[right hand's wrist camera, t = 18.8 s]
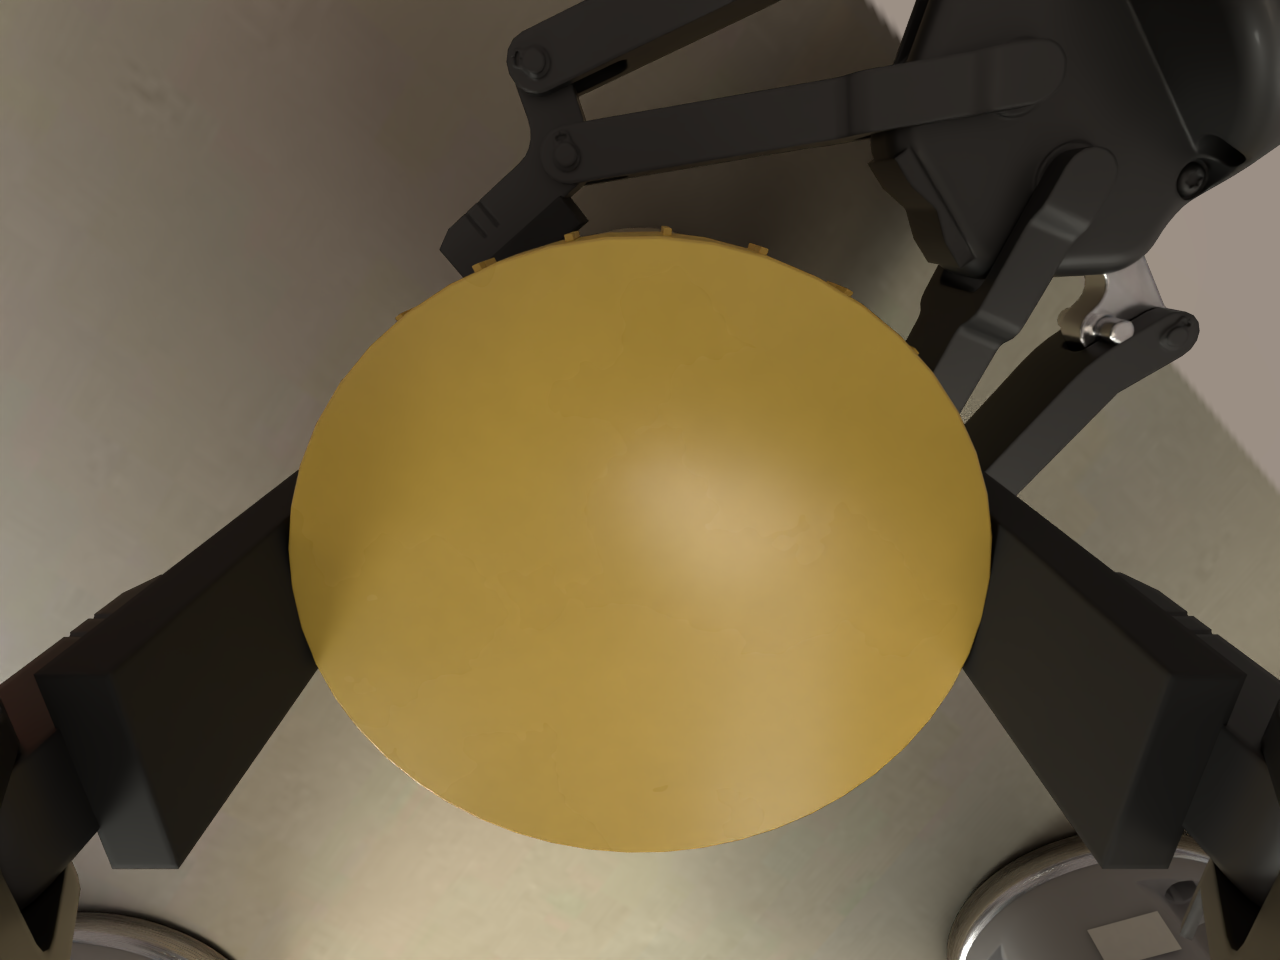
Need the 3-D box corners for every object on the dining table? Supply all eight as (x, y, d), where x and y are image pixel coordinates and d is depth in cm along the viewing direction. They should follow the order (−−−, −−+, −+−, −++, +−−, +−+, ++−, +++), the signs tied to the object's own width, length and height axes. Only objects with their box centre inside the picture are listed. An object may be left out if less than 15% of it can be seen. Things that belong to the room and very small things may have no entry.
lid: (293, 715, 13) (249, 778, 12) (388, 118, 9) (340, 102, 8) (803, 836, 14) (822, 908, 13) (1073, 354, 11) (1143, 378, 9)
